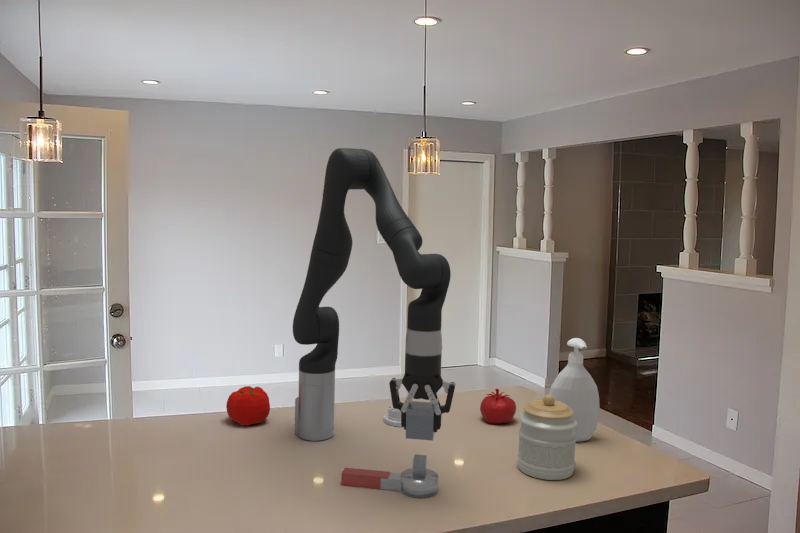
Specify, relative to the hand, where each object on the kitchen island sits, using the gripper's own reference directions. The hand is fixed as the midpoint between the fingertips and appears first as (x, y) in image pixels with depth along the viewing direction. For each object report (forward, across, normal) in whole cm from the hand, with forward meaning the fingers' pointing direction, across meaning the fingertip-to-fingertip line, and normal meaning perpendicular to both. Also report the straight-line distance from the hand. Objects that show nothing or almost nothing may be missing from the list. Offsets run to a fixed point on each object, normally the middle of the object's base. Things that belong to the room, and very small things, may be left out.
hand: (421, 429), depth 131 cm
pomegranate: (+13, +16, +48) cm, 53 cm away
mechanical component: (+13, -10, +42) cm, 45 cm away
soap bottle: (+13, +36, +37) cm, 53 cm away
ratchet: (+13, -6, 0) cm, 14 cm away
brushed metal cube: (+1, 0, 0) cm, 1 cm away
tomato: (+13, -50, +31) cm, 61 cm away
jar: (+13, +27, +17) cm, 35 cm away
